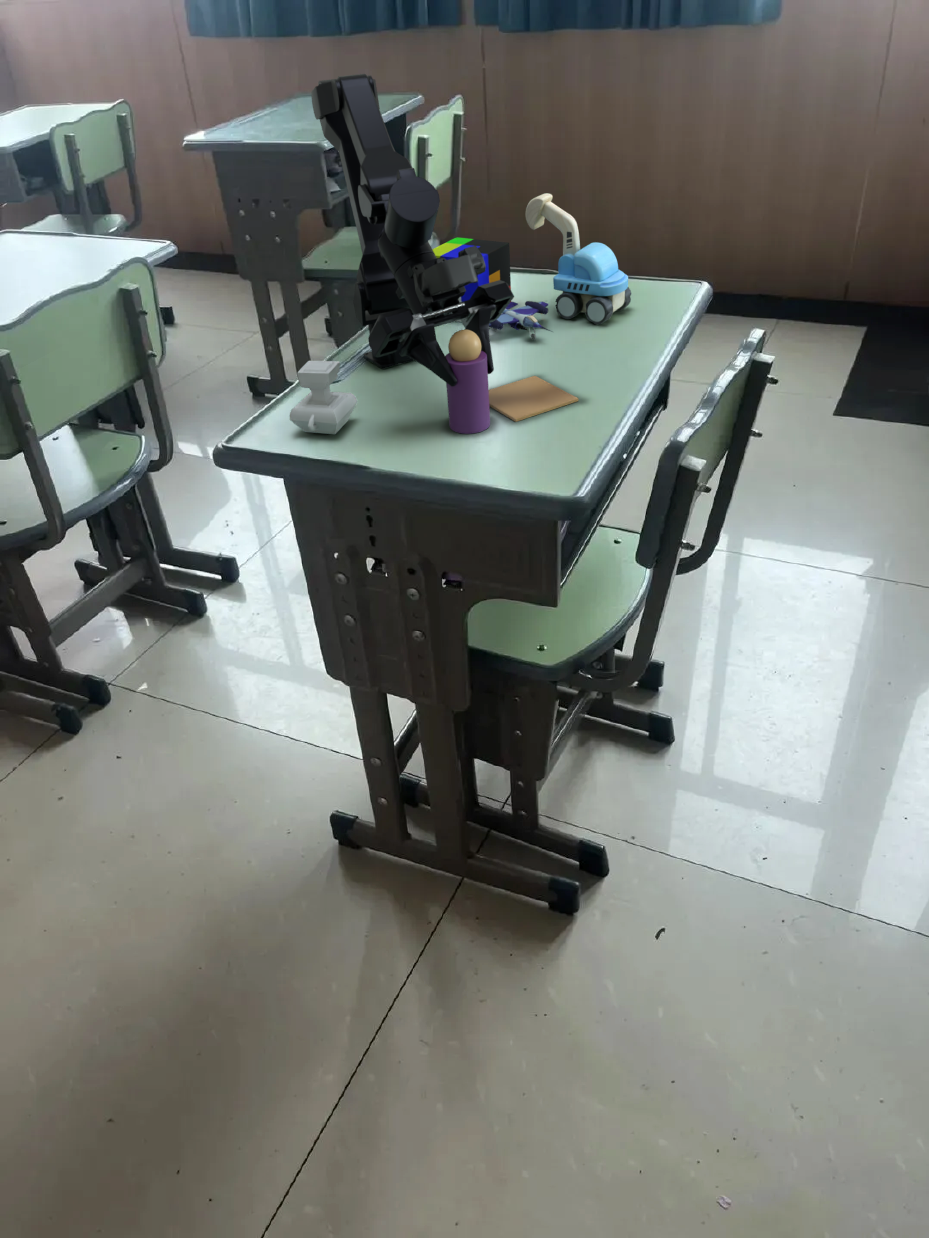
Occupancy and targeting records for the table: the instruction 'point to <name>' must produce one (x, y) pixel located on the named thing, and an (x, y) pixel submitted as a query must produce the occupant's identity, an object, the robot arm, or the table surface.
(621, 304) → the toy excavator
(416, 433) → the table surface
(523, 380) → the cork coaster
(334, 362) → the stamp
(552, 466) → the table surface
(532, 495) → the table surface
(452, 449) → the table surface
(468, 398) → the peg doll toy
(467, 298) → the puzzle toy
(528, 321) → the toy airplane
